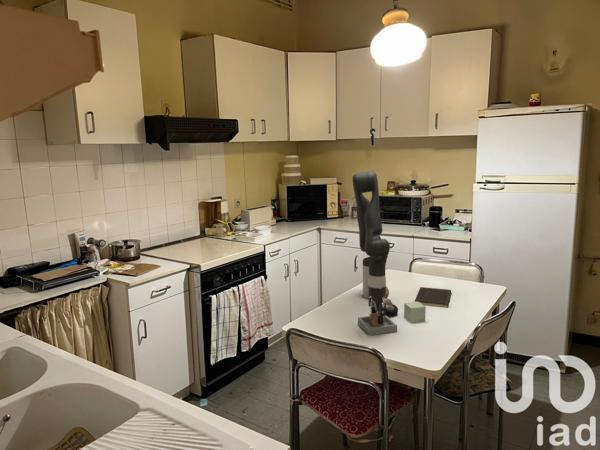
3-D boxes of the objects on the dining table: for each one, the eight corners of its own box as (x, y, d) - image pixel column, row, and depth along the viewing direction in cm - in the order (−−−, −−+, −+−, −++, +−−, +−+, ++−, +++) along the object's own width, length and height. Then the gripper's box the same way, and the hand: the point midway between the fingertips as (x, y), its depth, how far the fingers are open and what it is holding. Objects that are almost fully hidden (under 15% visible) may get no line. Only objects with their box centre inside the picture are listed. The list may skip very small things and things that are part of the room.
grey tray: (357, 323, 206) (357, 317, 205) (384, 320, 208) (384, 314, 208) (368, 335, 193) (368, 328, 193) (397, 331, 196) (397, 325, 195)
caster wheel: (397, 321, 213) (376, 319, 213) (393, 308, 224) (373, 305, 223) (400, 309, 211) (379, 307, 210) (396, 296, 221) (375, 294, 221)
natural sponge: (380, 307, 224) (380, 288, 222) (366, 303, 231) (366, 284, 229) (392, 303, 230) (392, 284, 228) (378, 298, 237) (378, 280, 235)
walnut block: (369, 324, 203) (369, 313, 202) (380, 323, 204) (380, 312, 203) (373, 328, 198) (373, 317, 197) (384, 327, 199) (384, 316, 198)
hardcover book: (414, 305, 228) (414, 301, 227) (420, 291, 248) (420, 287, 248) (448, 308, 222) (448, 304, 221) (451, 293, 243) (451, 289, 242)
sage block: (404, 317, 212) (404, 303, 210) (417, 315, 213) (418, 301, 212) (410, 323, 205) (411, 308, 204) (425, 321, 206) (425, 306, 205)
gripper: (362, 280, 203) (363, 315, 206) (375, 290, 189) (375, 327, 192) (378, 279, 205) (378, 313, 208) (392, 288, 191) (391, 325, 194)
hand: (377, 320), depth 200 cm, fingers open, 7 cm apart
